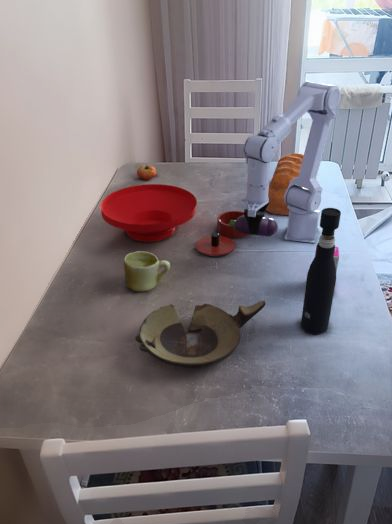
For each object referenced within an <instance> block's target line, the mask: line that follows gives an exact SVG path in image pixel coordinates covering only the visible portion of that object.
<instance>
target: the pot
mask: <svg viewBox="0 0 392 524" xmlns="http://www.w3.org/2000/svg"><path fill="white" fill-rule="evenodd" d="M243 212H244V210H243V211H242V210H227V211H223V212H222V213H220V214H219V215H217V217H216V220H217V221H216V225H217V227H216V229H217V233H218V234H219V236H224V237H228V238H230V239H231V240H235V239H237V240H238V239H243V238H245V237H248V236H249V235H250V234H242V233H239V232H238V231H237V230H236V228H235V227H230V220H236V219H237V218H238V217H240V216H244V214H243Z"/></svg>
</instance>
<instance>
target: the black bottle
mask: <svg viewBox="0 0 392 524" xmlns="http://www.w3.org/2000/svg"><path fill="white" fill-rule="evenodd" d="M341 215H342V211H341V210H340V209H338V208H335V207H325V208H322V210H321V211H320V218H319V227H320V228H321V234H320V235H319V237H318V243H317V244H316V246H317V250H316V249H315V252H316V256H315V255H314V257H313V259H312V261H311V263H310V264H309V268H308V270H307V273H306V281H305V288H304V295H303V303H302V312H301V320H300V327H301V329H302V330H303V331H304V332H305V333H307V334H310V335H316V336H317V335H323V334H325V333H326V332H327V331H328V329H329V325H330V324H329V323H330V318H331V312H332V306H333V300H334V294H335V289H336V282H337V272H336V266H335V261H334V251H335V247H336V237H335V231H336V230H337V229H339V226H340V223H341V222H340V221H341Z"/></svg>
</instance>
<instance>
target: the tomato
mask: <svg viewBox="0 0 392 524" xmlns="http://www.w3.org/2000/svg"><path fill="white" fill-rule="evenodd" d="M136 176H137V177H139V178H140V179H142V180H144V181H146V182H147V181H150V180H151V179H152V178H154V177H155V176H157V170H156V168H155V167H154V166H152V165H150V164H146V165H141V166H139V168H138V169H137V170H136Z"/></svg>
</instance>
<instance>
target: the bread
mask: <svg viewBox="0 0 392 524" xmlns="http://www.w3.org/2000/svg"><path fill="white" fill-rule="evenodd" d="M303 156H304V153H298V152H291V153H289V154H286V155H283V156H282V157H280V158H279V159H278V161H277V164H276V167H275V168H274V172H273V174H272V178H271V179H270V182H269V190H268V198H269V200H270V203H269V205H268V206H267V208H266V211H267V212H268V213H270V214H275V215H281V216H289V209H288V208H287V207H288V205H287V204H286V203H285V200H284V196H285V192H286V190H287V189H288V186H289V184H290V181H291V180H292V179H294V178H296V177H298V176H299V172H300V168H301V164H302V160H303ZM299 187H300V186H299ZM302 188H303V187H302ZM305 189H306V188H305Z"/></svg>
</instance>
